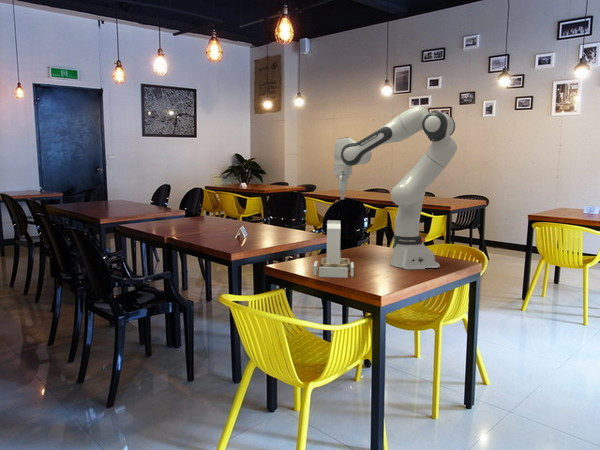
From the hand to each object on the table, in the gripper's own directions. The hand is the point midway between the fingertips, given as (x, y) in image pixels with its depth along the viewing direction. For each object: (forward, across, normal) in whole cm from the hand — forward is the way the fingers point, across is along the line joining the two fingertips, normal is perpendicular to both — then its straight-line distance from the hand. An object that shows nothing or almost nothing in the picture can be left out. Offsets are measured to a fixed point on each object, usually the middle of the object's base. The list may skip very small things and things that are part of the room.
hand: (342, 199), depth 242 cm
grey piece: (+29, -35, +3) cm, 45 cm away
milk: (+29, -26, +3) cm, 40 cm away
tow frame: (+29, -18, +3) cm, 34 cm away
